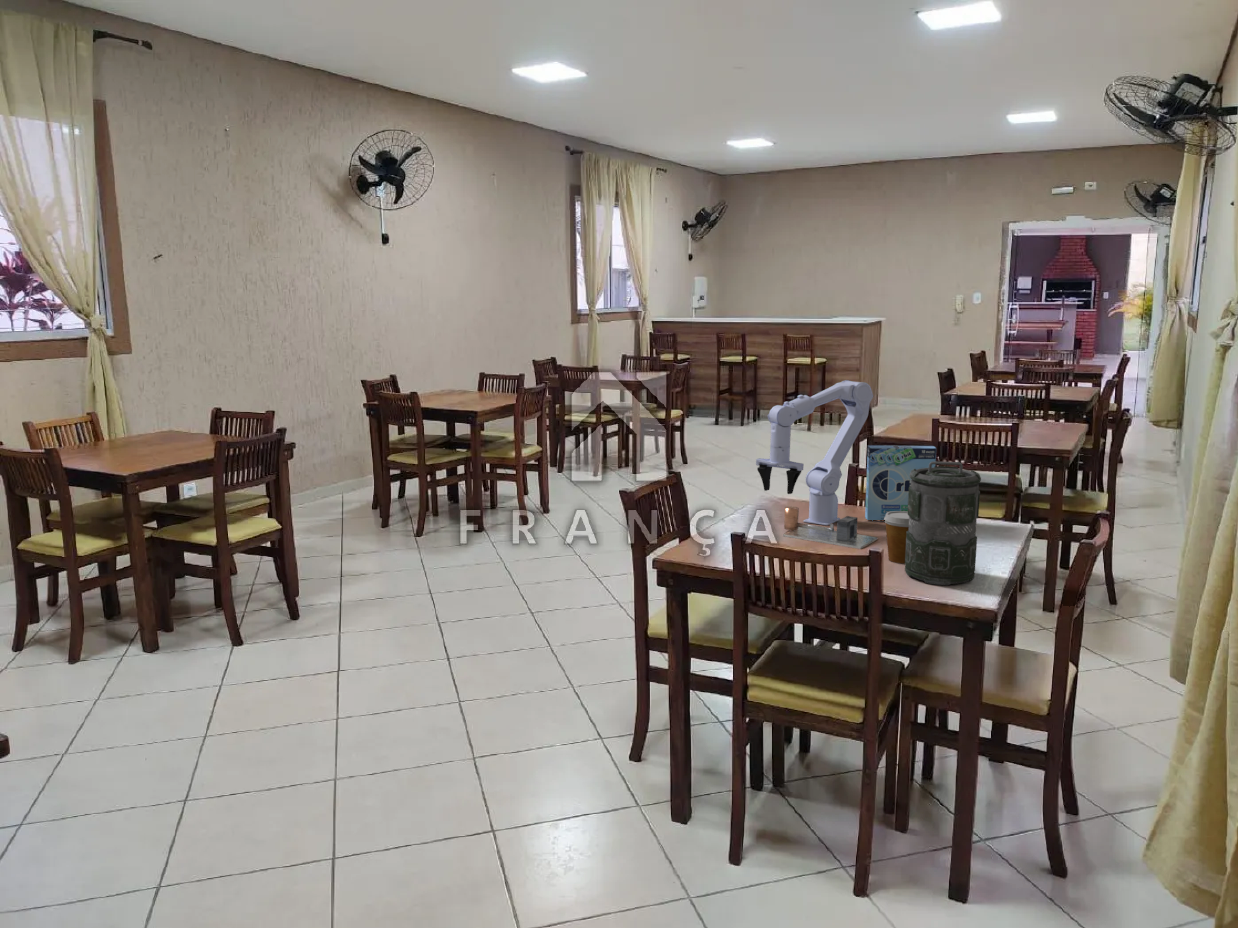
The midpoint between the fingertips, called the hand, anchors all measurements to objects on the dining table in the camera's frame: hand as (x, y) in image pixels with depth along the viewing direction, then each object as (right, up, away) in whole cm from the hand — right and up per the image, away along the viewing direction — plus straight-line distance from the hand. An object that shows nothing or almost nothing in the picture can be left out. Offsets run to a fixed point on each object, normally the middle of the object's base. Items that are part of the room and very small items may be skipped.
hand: (778, 491), depth 253 cm
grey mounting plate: (+12, -13, -12) cm, 21 cm away
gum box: (+38, -9, +8) cm, 40 cm away
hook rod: (+7, -11, -8) cm, 16 cm away
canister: (+30, -19, -48) cm, 59 cm away
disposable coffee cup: (+25, -17, -34) cm, 46 cm away
